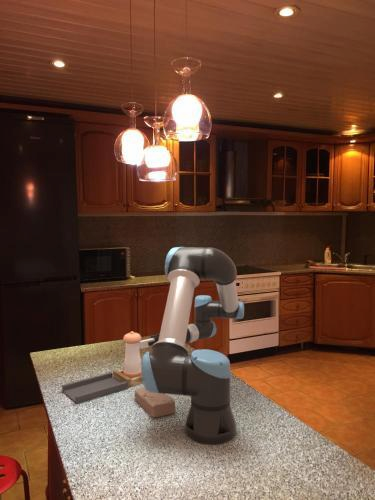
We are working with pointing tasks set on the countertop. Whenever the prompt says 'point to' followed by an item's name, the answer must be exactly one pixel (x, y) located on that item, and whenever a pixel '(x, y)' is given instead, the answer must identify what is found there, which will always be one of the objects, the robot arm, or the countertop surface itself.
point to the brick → (154, 402)
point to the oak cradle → (126, 378)
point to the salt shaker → (132, 355)
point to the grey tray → (93, 388)
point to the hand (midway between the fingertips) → (140, 344)
